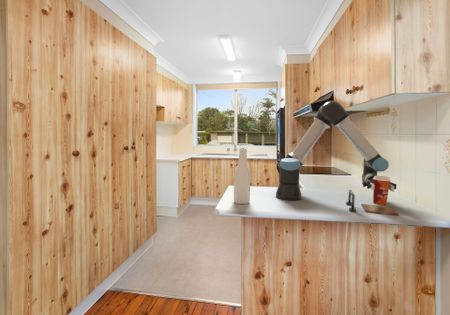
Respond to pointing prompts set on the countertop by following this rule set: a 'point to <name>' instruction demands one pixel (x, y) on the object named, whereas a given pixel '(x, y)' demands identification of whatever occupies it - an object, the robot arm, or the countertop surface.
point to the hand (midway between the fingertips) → (383, 188)
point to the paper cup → (381, 190)
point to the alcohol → (242, 179)
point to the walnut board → (379, 209)
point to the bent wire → (351, 202)
